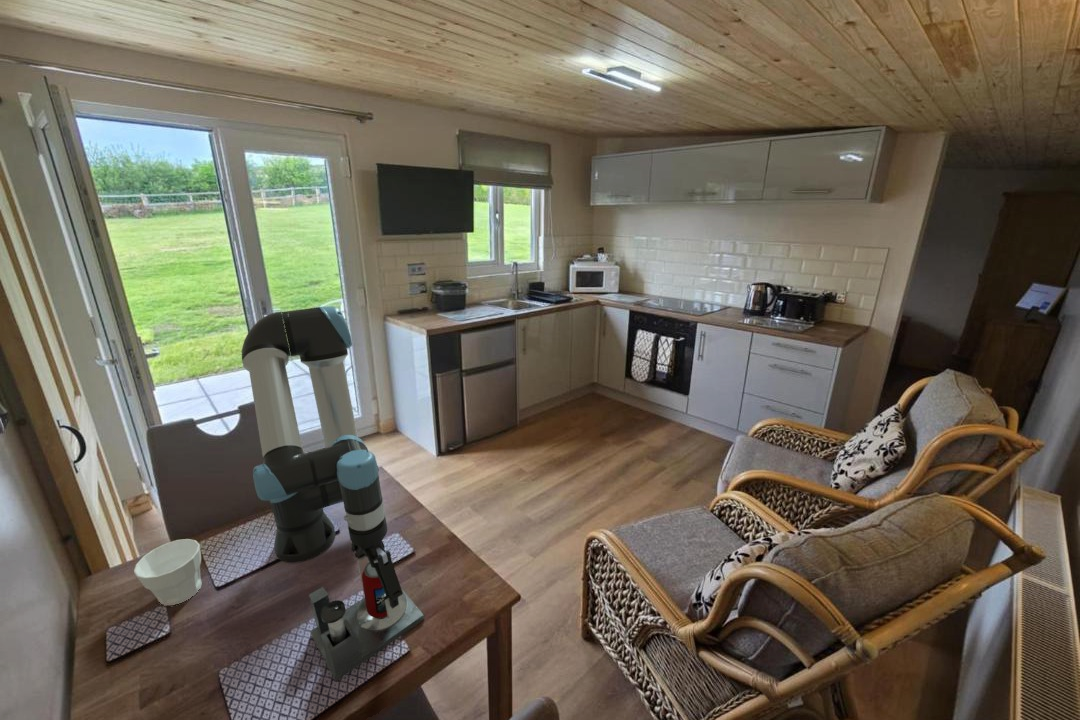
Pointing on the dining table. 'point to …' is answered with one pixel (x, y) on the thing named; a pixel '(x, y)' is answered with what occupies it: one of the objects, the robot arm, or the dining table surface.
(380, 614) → the beverage can
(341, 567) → the dining table surface
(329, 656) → the press
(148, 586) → the cup
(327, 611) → the plunger
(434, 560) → the dining table surface
